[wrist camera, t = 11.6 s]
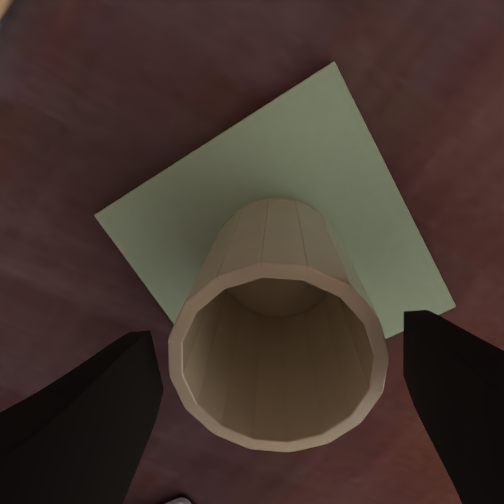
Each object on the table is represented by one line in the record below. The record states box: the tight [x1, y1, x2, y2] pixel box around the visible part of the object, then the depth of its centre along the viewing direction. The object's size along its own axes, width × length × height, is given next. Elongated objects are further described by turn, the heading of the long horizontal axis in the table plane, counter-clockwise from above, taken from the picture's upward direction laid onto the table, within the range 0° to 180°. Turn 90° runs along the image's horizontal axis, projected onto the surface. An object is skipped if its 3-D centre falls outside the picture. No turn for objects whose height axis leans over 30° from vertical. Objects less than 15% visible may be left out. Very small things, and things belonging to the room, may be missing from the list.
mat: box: [94, 62, 456, 339], centre depth 18 cm, size 12×12×1 cm
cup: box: [168, 198, 390, 452], centre depth 14 cm, size 6×6×8 cm
